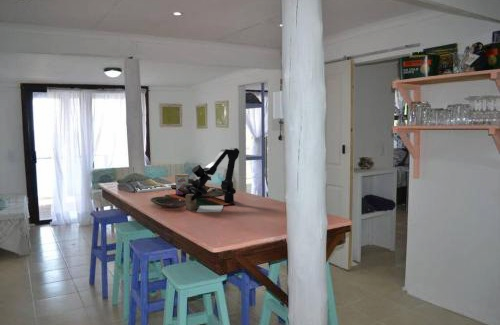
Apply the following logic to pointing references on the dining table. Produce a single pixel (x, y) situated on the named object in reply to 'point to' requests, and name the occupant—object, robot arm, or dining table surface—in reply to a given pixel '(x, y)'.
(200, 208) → the grey mat
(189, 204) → the walnut block
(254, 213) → the dining table surface
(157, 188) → the holder
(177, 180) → the candy bar box
